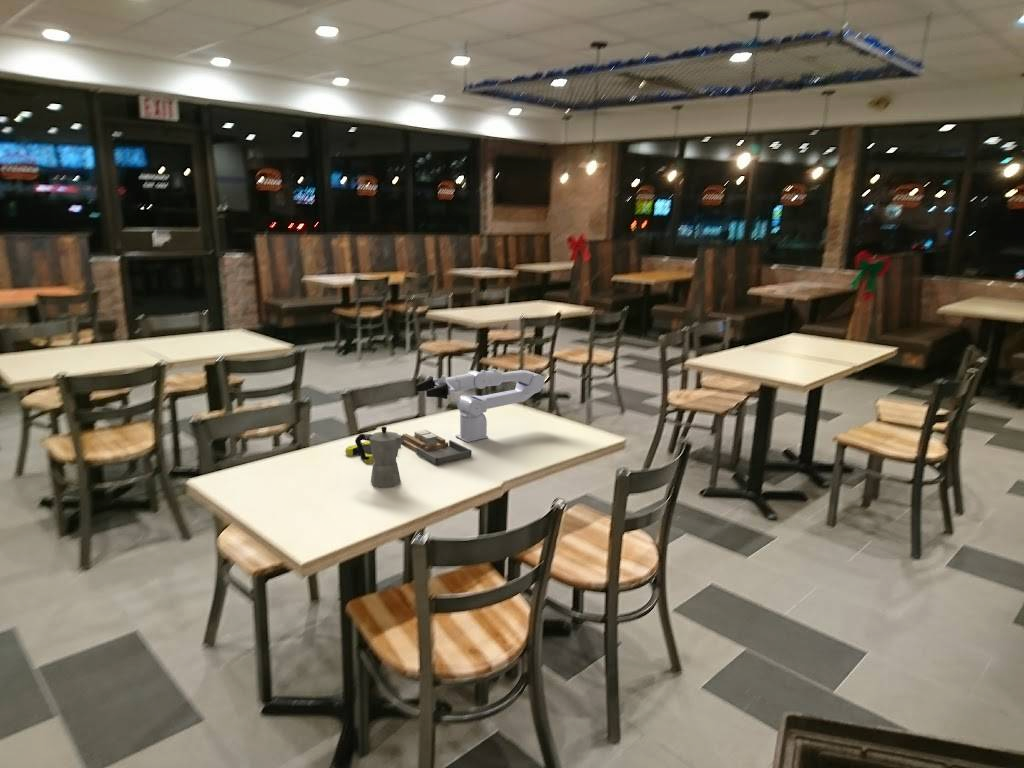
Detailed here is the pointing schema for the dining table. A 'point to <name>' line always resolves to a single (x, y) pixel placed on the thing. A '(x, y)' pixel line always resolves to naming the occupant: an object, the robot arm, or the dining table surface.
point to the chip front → (429, 439)
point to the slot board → (414, 443)
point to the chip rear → (420, 434)
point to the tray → (445, 453)
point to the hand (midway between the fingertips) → (421, 390)
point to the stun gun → (354, 451)
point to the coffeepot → (383, 457)
